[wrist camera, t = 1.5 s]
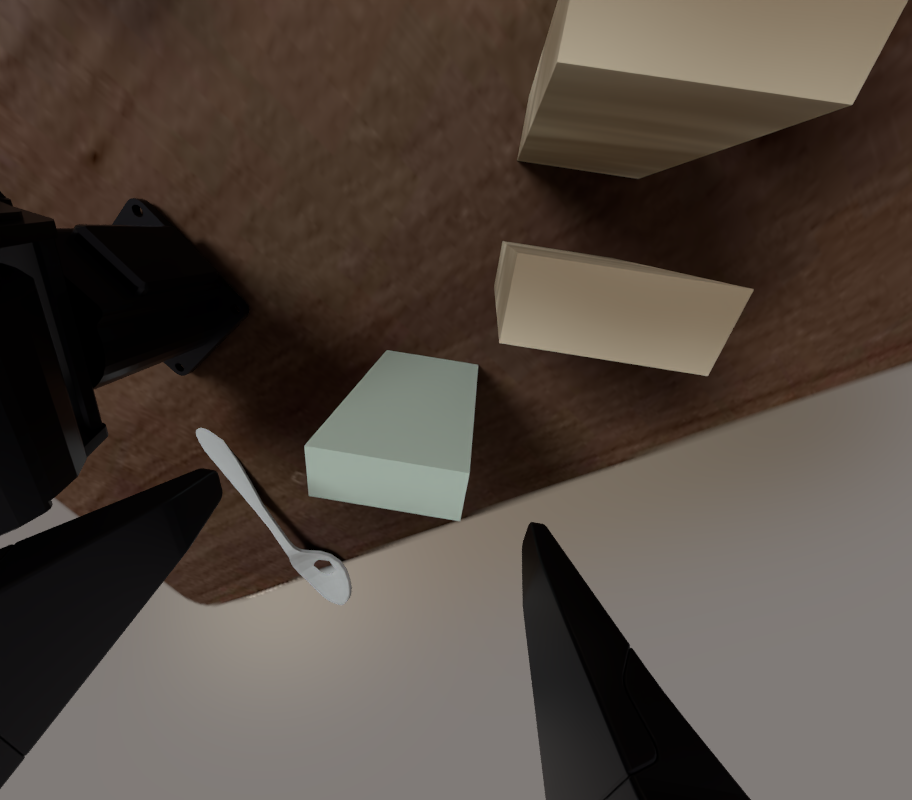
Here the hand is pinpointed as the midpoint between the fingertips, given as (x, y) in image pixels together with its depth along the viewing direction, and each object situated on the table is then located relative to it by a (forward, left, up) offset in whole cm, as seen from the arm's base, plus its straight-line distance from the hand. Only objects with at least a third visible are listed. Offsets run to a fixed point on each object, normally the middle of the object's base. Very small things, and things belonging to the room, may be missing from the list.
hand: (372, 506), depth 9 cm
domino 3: (+8, +1, -10) cm, 13 cm away
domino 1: (0, 0, -10) cm, 10 cm away
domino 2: (+12, +4, -10) cm, 16 cm away
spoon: (-16, -1, -11) cm, 20 cm away
